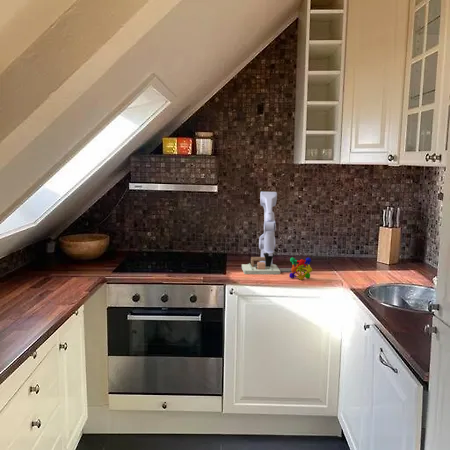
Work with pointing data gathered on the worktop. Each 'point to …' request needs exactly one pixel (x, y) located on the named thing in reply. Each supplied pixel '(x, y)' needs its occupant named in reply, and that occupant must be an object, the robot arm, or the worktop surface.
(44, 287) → the worktop surface
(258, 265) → the terracotta block
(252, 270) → the puzzle board
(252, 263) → the walnut cover
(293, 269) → the molecular model
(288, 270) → the slate pad
